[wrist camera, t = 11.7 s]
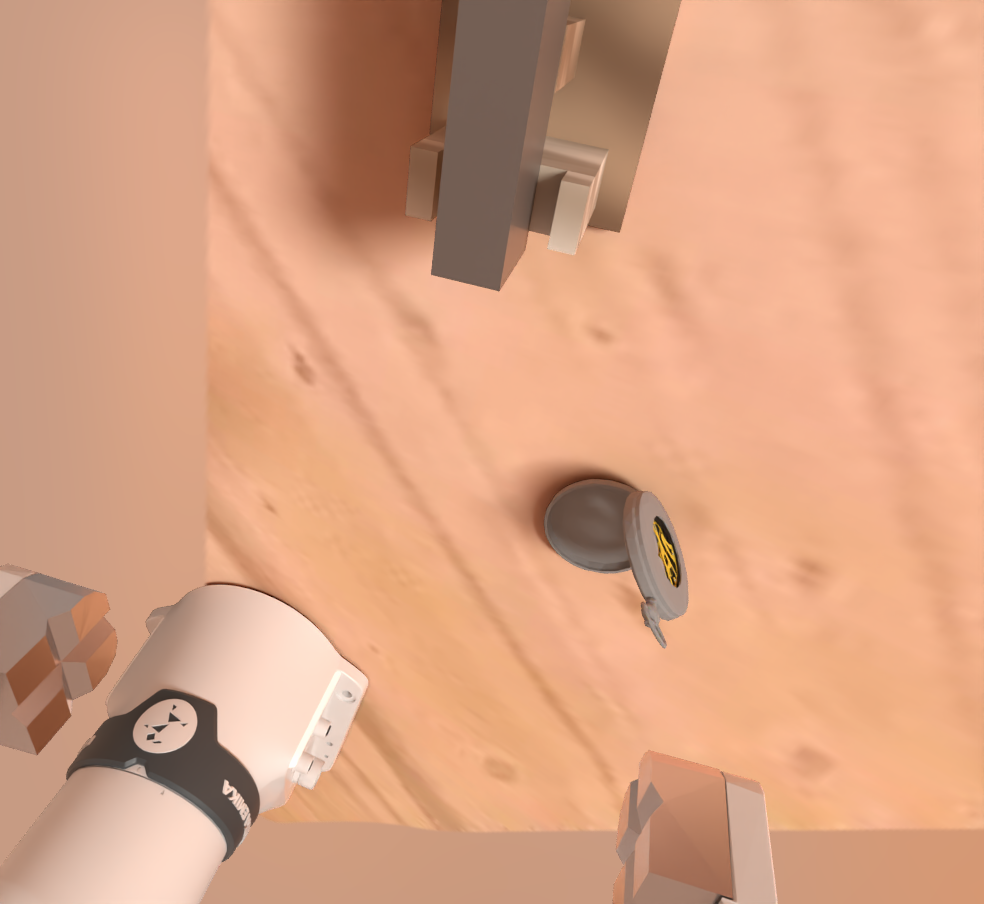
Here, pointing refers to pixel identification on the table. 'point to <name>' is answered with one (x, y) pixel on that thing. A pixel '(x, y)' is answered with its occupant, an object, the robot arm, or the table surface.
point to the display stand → (572, 117)
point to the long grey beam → (495, 135)
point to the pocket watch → (622, 542)
